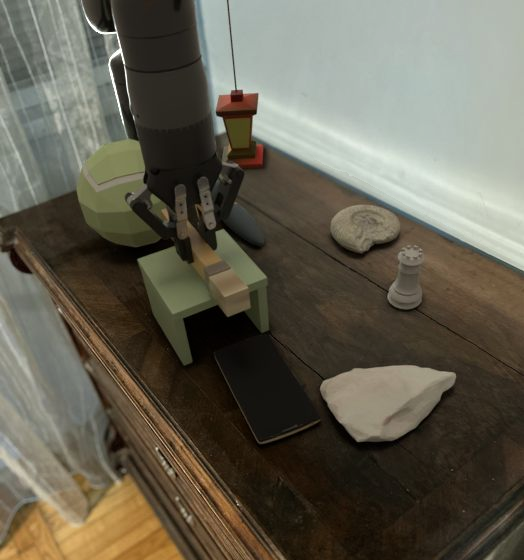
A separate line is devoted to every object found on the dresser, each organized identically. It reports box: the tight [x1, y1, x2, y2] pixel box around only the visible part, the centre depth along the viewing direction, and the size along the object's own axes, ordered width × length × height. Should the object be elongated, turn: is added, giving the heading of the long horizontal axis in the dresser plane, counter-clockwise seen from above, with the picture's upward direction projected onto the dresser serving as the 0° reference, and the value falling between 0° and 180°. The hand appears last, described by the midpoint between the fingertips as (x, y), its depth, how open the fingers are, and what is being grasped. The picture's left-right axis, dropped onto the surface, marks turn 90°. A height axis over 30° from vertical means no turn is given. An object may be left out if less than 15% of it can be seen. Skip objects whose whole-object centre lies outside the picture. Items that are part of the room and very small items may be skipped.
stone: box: [319, 364, 457, 443], centre depth 60 cm, size 11×4×15 cm
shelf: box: [136, 228, 270, 366], centre depth 70 cm, size 12×12×9 cm
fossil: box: [330, 204, 401, 255], centre depth 83 cm, size 11×4×10 cm
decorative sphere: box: [75, 138, 166, 248], centre depth 82 cm, size 15×15×15 cm
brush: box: [161, 209, 251, 318], centre depth 64 cm, size 20×3×3 cm, turn 28°
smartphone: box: [213, 333, 322, 445], centre depth 64 cm, size 7×1×15 cm
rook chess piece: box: [387, 244, 425, 311], centre depth 71 cm, size 4×4×8 cm
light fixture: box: [215, 0, 265, 170], centre depth 93 cm, size 8×8×30 cm
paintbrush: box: [211, 179, 266, 247], centre depth 87 cm, size 20×5×5 cm, turn 38°
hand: (198, 255), depth 65 cm, fingers closed on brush, 2 cm apart
